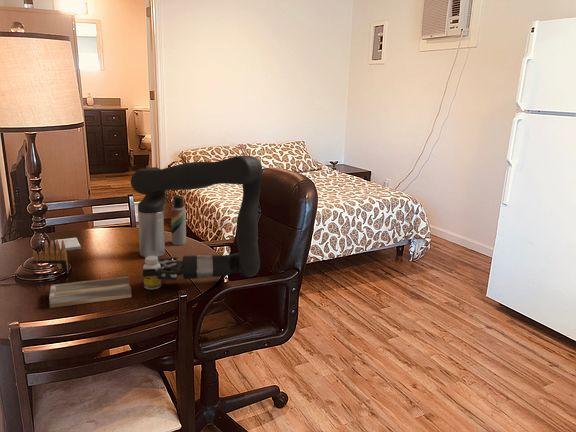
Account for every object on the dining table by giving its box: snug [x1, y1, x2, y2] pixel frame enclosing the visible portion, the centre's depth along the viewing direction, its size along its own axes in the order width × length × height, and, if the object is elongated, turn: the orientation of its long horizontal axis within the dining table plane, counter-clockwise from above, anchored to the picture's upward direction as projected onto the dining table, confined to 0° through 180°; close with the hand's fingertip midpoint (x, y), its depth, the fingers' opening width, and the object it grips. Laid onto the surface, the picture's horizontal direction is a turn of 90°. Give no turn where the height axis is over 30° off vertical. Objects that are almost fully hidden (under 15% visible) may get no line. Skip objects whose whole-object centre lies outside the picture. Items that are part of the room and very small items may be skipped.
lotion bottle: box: [170, 195, 187, 246], centre depth 185 cm, size 6×6×20 cm
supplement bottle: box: [142, 256, 162, 290], centre depth 144 cm, size 5×5×10 cm
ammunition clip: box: [32, 239, 70, 275], centre depth 150 cm, size 11×2×12 cm, turn 98°
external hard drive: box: [54, 237, 82, 251], centre depth 179 cm, size 2×8×12 cm
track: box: [48, 275, 132, 309], centre depth 137 cm, size 10×22×3 cm, turn 114°
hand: (143, 269), depth 143 cm, fingers closed on supplement bottle, 5 cm apart
